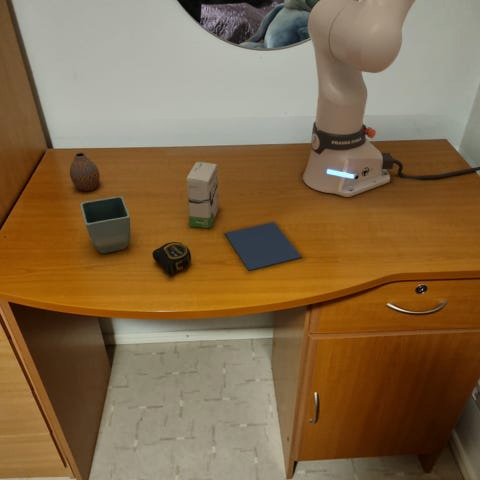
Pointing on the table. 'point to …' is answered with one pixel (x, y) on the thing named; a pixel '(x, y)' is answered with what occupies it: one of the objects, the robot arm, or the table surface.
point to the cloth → (262, 246)
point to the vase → (84, 172)
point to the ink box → (202, 194)
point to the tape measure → (172, 257)
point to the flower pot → (107, 223)
